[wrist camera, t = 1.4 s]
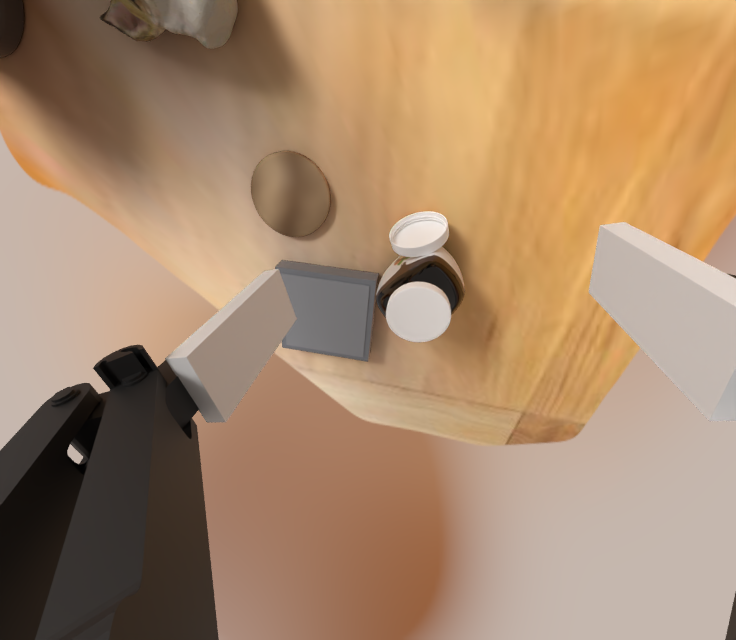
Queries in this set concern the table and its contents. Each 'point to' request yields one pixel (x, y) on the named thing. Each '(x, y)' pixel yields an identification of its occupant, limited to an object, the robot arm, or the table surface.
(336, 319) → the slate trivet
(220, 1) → the ceramic sculpture
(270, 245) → the table surface
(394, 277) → the spread jar
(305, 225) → the oak coaster
